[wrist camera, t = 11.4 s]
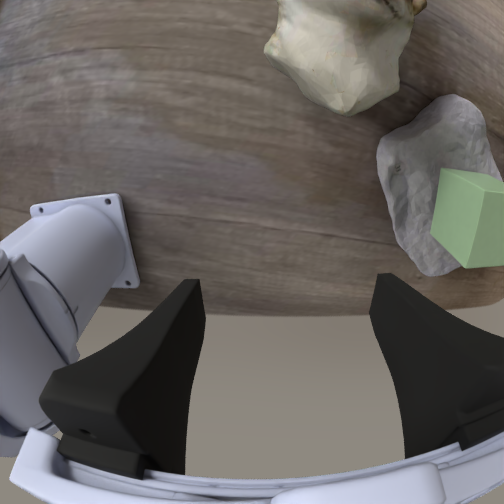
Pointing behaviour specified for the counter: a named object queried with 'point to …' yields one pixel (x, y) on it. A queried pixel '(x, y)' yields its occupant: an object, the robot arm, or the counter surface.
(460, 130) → the stone block
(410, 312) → the robot arm
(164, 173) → the counter surface
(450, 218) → the sage block
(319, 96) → the ceramic sculpture
